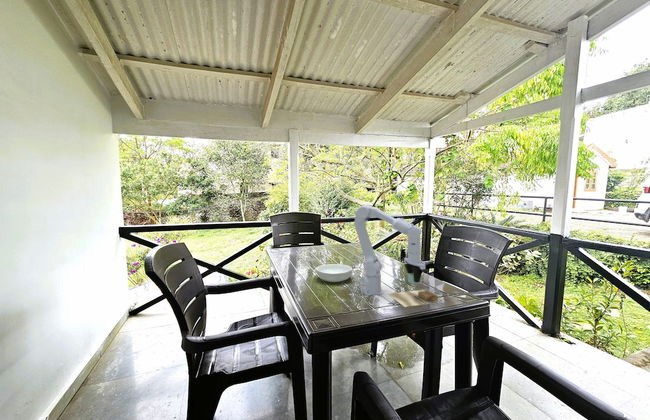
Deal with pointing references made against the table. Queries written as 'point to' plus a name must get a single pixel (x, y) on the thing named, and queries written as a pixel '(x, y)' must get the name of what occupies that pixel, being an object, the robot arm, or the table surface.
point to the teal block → (412, 279)
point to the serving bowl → (334, 272)
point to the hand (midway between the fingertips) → (414, 280)
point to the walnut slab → (428, 296)
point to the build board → (410, 298)
